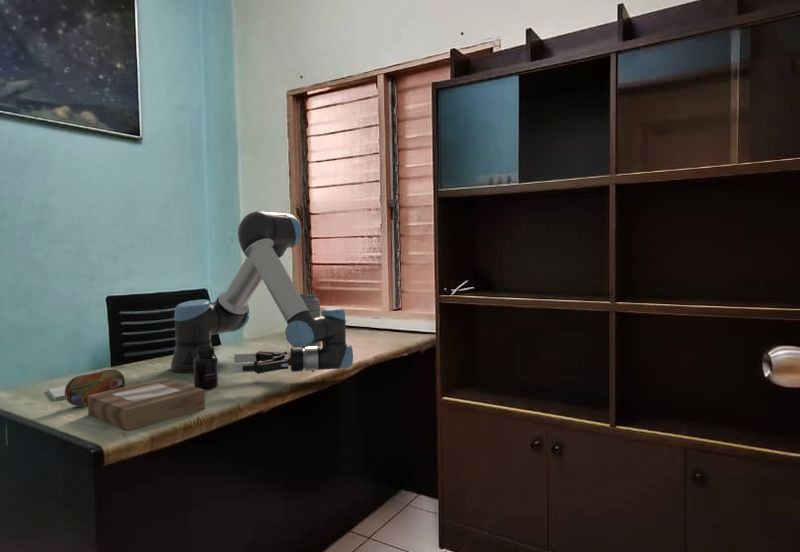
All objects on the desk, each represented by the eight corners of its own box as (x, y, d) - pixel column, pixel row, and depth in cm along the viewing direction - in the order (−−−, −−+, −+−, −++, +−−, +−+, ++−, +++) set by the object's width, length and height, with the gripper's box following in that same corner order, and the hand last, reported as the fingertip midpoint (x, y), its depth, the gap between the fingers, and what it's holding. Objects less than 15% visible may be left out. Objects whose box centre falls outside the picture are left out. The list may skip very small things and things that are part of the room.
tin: (69, 410, 131) (68, 379, 131) (63, 409, 133) (62, 377, 133) (126, 396, 144) (125, 367, 144) (120, 394, 146) (118, 365, 145)
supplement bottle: (210, 390, 148) (208, 350, 148) (189, 389, 150) (188, 349, 149) (222, 384, 155) (221, 346, 154) (202, 383, 156) (201, 345, 156)
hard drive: (88, 391, 145) (79, 382, 154) (54, 397, 140) (47, 388, 149) (89, 396, 146) (79, 388, 155) (55, 403, 140) (47, 393, 149)
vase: (285, 352, 201) (284, 295, 200) (302, 347, 212) (301, 293, 210) (310, 355, 197) (309, 296, 195) (326, 349, 207) (325, 293, 206)
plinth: (88, 414, 128) (87, 395, 128) (164, 395, 144) (164, 378, 144) (126, 431, 116) (125, 409, 116) (204, 408, 132) (204, 389, 132)
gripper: (306, 380, 147) (229, 386, 142) (301, 362, 171) (236, 366, 166) (305, 355, 146) (228, 360, 141) (301, 340, 171) (235, 343, 165)
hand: (232, 363), depth 154 cm, fingers open, 13 cm apart
